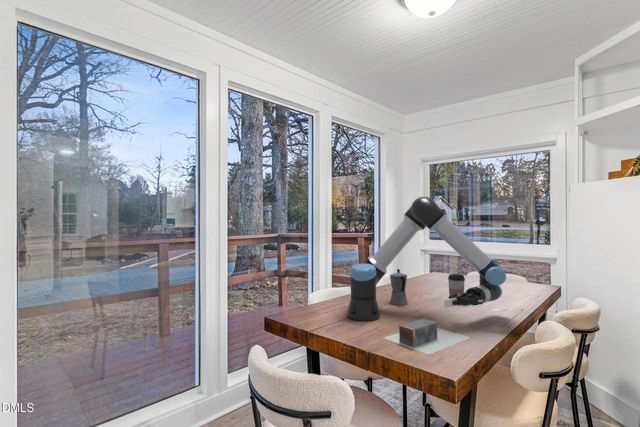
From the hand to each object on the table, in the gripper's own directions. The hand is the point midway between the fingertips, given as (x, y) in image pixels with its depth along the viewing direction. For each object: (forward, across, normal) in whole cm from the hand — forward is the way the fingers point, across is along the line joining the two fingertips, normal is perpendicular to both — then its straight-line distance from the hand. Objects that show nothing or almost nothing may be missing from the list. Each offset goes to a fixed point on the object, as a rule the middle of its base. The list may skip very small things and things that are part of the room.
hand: (445, 303), depth 135 cm
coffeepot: (-21, +42, -11) cm, 48 cm away
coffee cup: (-45, +23, -12) cm, 52 cm away
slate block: (+10, 0, -8) cm, 13 cm away
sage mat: (+12, 0, -11) cm, 17 cm away
